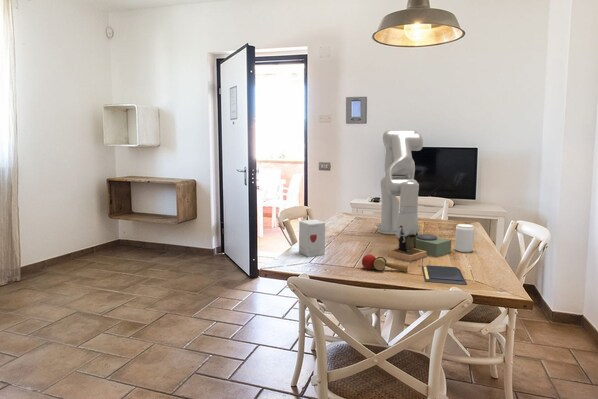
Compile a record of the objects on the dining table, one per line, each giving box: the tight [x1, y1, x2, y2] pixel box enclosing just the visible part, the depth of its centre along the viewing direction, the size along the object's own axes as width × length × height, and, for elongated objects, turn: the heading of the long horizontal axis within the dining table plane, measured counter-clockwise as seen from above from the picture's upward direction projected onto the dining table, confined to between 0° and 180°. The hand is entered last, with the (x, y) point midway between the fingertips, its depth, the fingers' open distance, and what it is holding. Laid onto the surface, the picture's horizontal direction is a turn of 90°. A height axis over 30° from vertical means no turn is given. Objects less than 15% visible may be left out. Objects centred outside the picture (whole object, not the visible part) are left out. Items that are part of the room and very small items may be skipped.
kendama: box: [361, 253, 409, 273], centre depth 166 cm, size 8×6×18 cm
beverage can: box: [454, 223, 475, 253], centre depth 194 cm, size 8×8×12 cm
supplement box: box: [298, 219, 326, 258], centre depth 189 cm, size 9×9×15 cm
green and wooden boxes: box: [387, 232, 452, 263], centre depth 189 cm, size 18×27×7 cm, turn 130°
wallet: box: [421, 265, 468, 286], centre depth 160 cm, size 20×2×15 cm
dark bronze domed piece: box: [401, 234, 416, 253], centre depth 184 cm, size 8×7×8 cm
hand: (407, 248), depth 185 cm, fingers closed on dark bronze domed piece, 6 cm apart
